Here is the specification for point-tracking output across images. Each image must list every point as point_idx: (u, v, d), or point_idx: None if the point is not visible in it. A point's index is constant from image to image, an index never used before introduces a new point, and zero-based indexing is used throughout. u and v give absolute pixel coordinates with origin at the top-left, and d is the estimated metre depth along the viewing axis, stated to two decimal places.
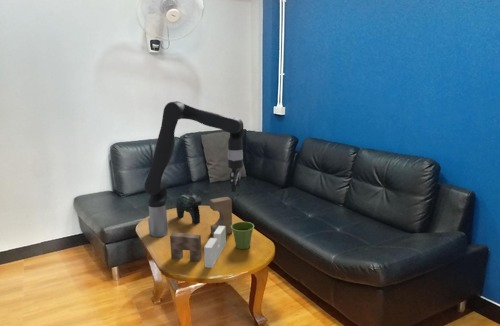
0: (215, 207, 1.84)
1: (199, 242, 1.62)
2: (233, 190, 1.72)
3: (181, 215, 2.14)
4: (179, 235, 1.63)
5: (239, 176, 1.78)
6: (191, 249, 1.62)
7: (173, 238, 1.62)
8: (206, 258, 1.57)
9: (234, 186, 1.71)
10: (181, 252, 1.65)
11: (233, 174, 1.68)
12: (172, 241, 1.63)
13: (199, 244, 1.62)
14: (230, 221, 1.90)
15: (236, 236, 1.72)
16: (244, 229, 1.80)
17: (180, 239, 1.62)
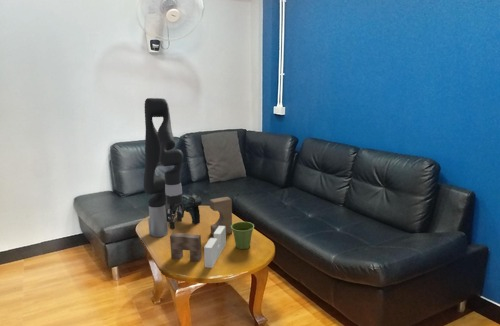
0: (215, 207, 1.84)
1: (199, 242, 1.62)
2: (171, 228, 1.57)
3: None
4: (179, 235, 1.63)
5: (180, 211, 1.64)
6: (191, 249, 1.62)
7: (173, 238, 1.62)
8: (206, 258, 1.57)
9: (172, 223, 1.57)
10: (181, 252, 1.65)
11: (169, 211, 1.54)
12: (172, 241, 1.63)
13: (199, 244, 1.62)
14: (230, 221, 1.90)
15: (236, 236, 1.72)
16: (244, 229, 1.80)
17: (180, 239, 1.62)
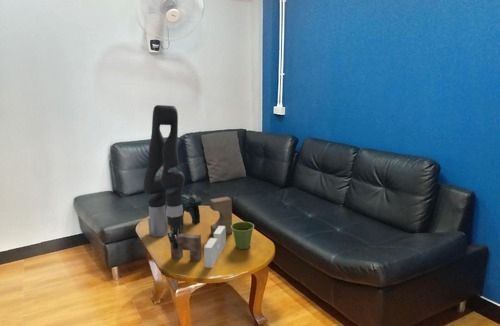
0: (215, 207, 1.84)
1: (199, 242, 1.62)
2: (174, 248, 1.62)
3: None
4: (179, 235, 1.63)
5: (180, 233, 1.65)
6: (191, 249, 1.62)
7: None
8: (206, 258, 1.57)
9: (175, 244, 1.61)
10: (181, 251, 1.65)
11: (171, 235, 1.57)
12: None
13: (199, 244, 1.62)
14: (230, 221, 1.90)
15: (236, 236, 1.72)
16: (244, 229, 1.80)
17: (180, 239, 1.62)
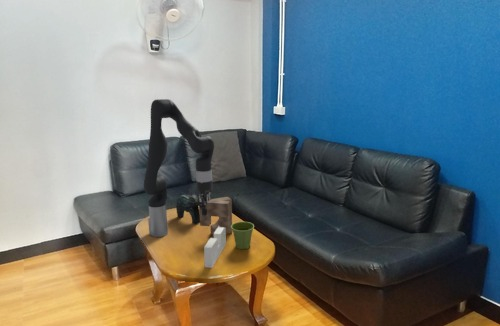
0: None
1: (228, 208, 1.62)
2: (203, 214, 1.62)
3: (181, 215, 2.14)
4: (208, 201, 1.63)
5: None
6: (220, 215, 1.62)
7: None
8: (206, 258, 1.57)
9: (204, 210, 1.61)
10: (210, 218, 1.65)
11: (201, 200, 1.56)
12: (201, 208, 1.63)
13: (228, 210, 1.62)
14: (230, 221, 1.90)
15: (236, 236, 1.72)
16: (244, 229, 1.80)
17: (209, 205, 1.61)
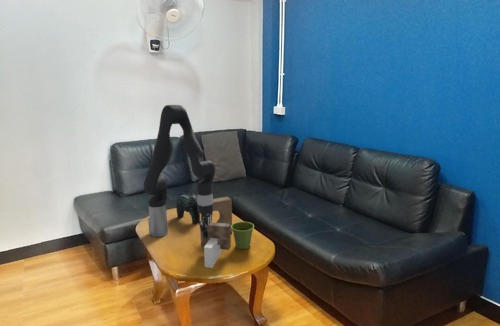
0: (215, 207, 1.84)
1: (229, 231, 1.64)
2: (204, 236, 1.64)
3: (181, 215, 2.14)
4: (209, 223, 1.66)
5: (209, 222, 1.67)
6: (221, 238, 1.64)
7: None
8: (206, 258, 1.57)
9: (205, 232, 1.64)
10: None
11: (202, 224, 1.59)
12: None
13: (229, 233, 1.64)
14: (230, 221, 1.90)
15: (236, 236, 1.72)
16: (244, 229, 1.80)
17: (210, 228, 1.64)
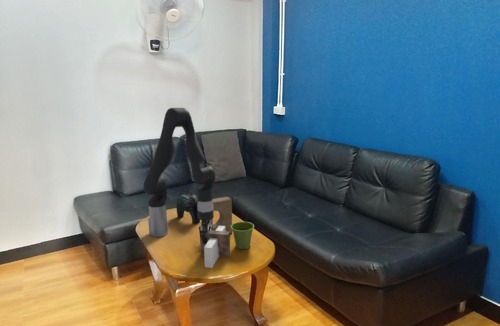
0: (215, 207, 1.84)
1: (228, 239, 1.65)
2: (204, 243, 1.64)
3: (181, 215, 2.14)
4: (209, 231, 1.66)
5: (210, 227, 1.68)
6: (220, 245, 1.65)
7: None
8: (206, 258, 1.57)
9: (205, 239, 1.63)
10: None
11: (202, 228, 1.59)
12: None
13: (228, 241, 1.65)
14: (230, 221, 1.90)
15: (236, 236, 1.72)
16: (244, 229, 1.80)
17: (210, 236, 1.65)
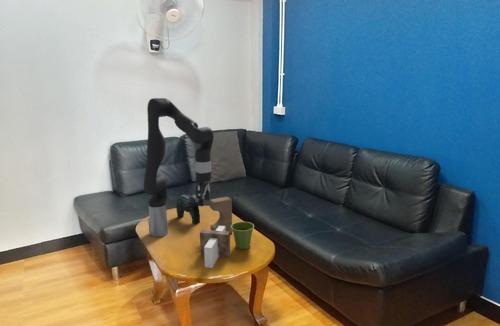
0: (215, 207, 1.84)
1: (228, 239, 1.65)
2: (200, 205, 1.60)
3: (181, 215, 2.14)
4: (209, 231, 1.67)
5: (208, 189, 1.66)
6: (220, 245, 1.65)
7: (203, 235, 1.66)
8: (206, 258, 1.57)
9: (201, 200, 1.59)
10: None
11: (200, 188, 1.56)
12: (202, 238, 1.66)
13: (228, 240, 1.65)
14: (230, 221, 1.90)
15: (236, 236, 1.72)
16: (244, 229, 1.80)
17: (210, 236, 1.65)
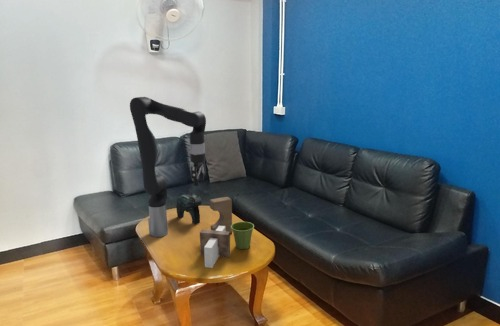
0: (215, 207, 1.84)
1: (228, 239, 1.65)
2: (195, 184, 1.71)
3: (181, 215, 2.14)
4: (209, 231, 1.67)
5: (202, 170, 1.77)
6: (220, 245, 1.65)
7: (203, 235, 1.66)
8: (206, 258, 1.57)
9: (196, 180, 1.70)
10: None
11: (194, 168, 1.67)
12: (202, 238, 1.66)
13: (228, 240, 1.65)
14: (230, 221, 1.90)
15: (236, 236, 1.72)
16: (244, 229, 1.80)
17: (210, 236, 1.65)
